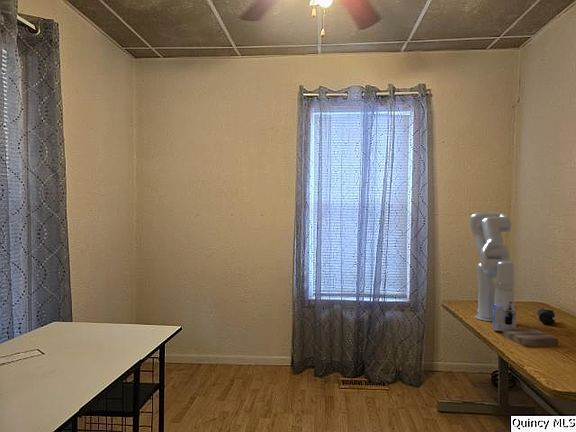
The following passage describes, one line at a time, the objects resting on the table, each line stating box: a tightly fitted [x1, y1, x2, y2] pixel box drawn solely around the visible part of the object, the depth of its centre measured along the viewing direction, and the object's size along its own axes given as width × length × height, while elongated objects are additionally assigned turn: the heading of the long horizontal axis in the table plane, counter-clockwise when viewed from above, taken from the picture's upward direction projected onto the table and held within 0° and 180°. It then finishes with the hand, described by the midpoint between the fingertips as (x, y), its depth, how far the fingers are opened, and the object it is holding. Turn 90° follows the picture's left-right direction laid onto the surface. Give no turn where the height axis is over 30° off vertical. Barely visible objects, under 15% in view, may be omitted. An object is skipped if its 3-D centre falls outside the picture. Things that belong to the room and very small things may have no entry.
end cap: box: [537, 307, 556, 326], centre depth 225 cm, size 10×7×7 cm
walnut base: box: [501, 328, 559, 347], centre depth 194 cm, size 16×16×3 cm
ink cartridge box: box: [492, 304, 517, 332], centre depth 208 cm, size 10×6×14 cm, turn 79°
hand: (504, 321), depth 208 cm, fingers closed on ink cartridge box, 6 cm apart
